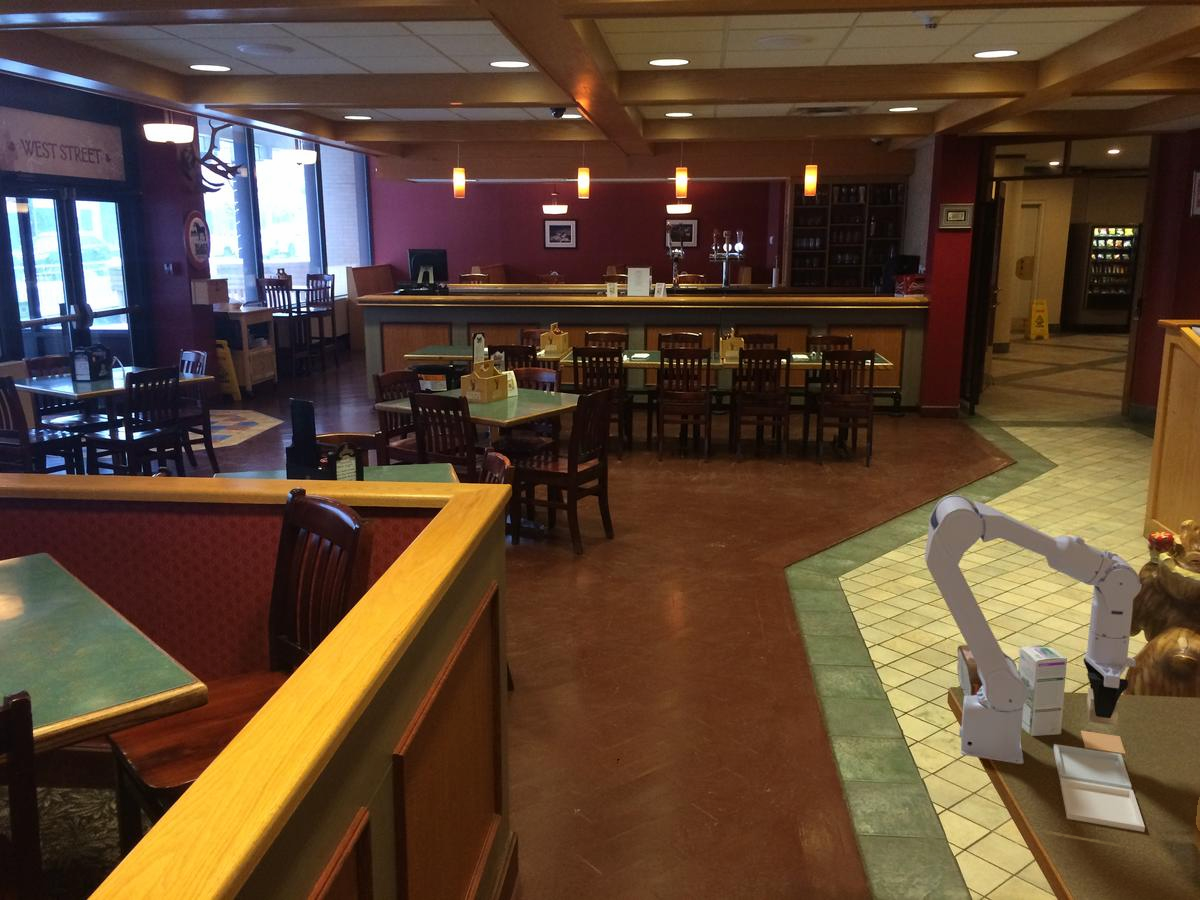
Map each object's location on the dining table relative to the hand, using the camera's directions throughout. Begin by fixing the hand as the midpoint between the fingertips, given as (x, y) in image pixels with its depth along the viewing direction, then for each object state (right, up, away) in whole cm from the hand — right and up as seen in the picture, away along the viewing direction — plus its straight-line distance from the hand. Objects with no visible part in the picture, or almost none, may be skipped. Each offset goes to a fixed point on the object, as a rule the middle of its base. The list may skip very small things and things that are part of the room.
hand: (1101, 710), depth 153 cm
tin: (-12, -4, +25) cm, 28 cm away
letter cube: (0, -1, 0) cm, 1 cm away
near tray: (-6, -12, -11) cm, 17 cm away
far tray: (-2, -9, -1) cm, 10 cm away
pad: (+4, -8, +7) cm, 11 cm away
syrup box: (-5, -7, +12) cm, 15 cm away
